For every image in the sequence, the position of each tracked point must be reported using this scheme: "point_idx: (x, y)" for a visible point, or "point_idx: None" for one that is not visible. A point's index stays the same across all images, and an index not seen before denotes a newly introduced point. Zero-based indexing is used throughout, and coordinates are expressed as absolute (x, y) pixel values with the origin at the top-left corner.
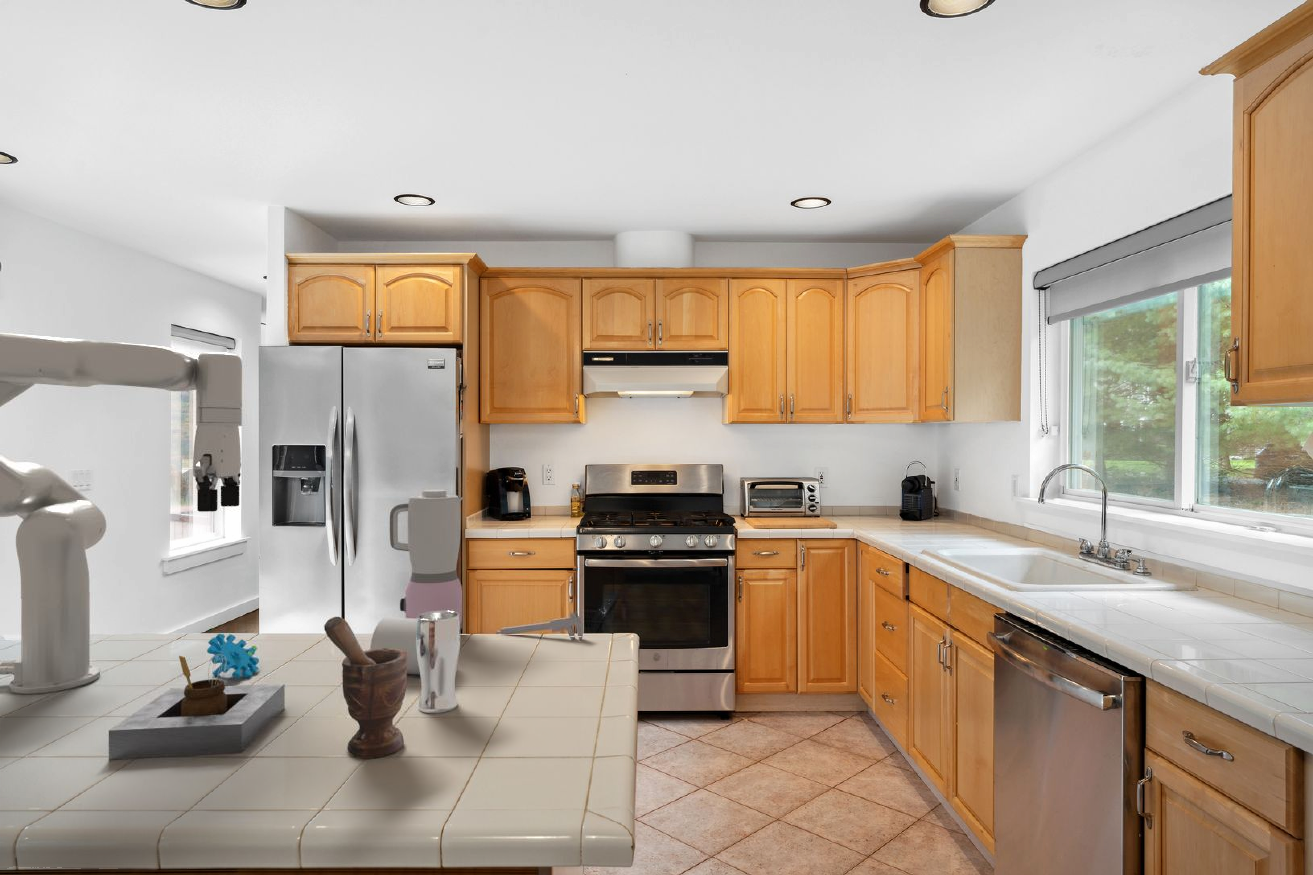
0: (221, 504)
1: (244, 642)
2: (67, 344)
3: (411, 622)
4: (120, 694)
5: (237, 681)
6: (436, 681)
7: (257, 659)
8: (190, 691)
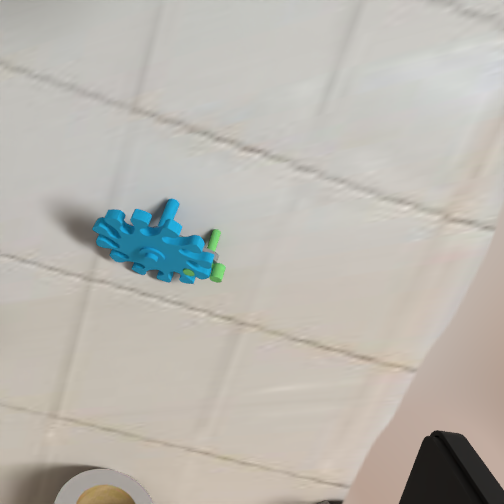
0: (433, 441)
1: (206, 266)
2: None
3: None
4: (87, 37)
5: None
6: None
7: (189, 281)
8: None
